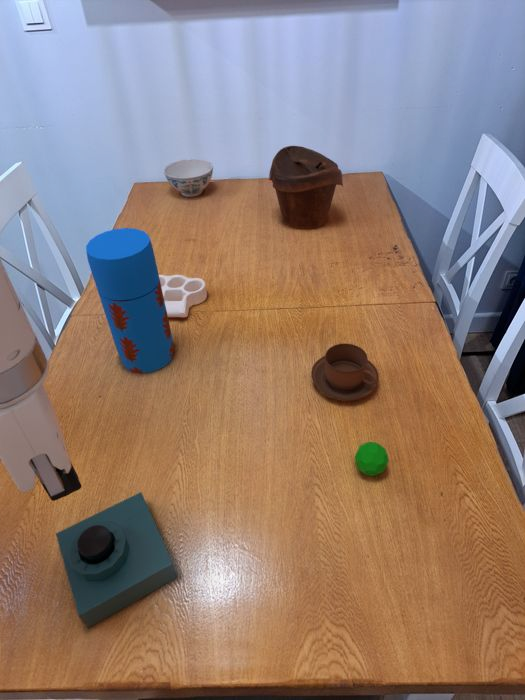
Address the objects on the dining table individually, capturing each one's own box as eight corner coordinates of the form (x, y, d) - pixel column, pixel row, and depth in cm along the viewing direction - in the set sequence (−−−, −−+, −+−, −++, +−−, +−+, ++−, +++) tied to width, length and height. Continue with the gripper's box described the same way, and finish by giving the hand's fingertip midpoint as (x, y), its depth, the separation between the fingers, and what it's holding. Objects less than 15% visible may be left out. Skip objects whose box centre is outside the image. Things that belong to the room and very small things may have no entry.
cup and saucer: (382, 367, 92) (386, 342, 88) (370, 413, 84) (374, 388, 79) (320, 354, 95) (321, 329, 91) (303, 397, 87) (303, 372, 83)
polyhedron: (392, 468, 75) (397, 449, 72) (373, 487, 73) (376, 469, 70) (366, 449, 78) (369, 430, 75) (346, 467, 76) (349, 448, 72)
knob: (86, 569, 60) (81, 562, 58) (78, 542, 62) (73, 535, 61) (118, 553, 61) (114, 545, 60) (108, 527, 64) (104, 519, 62)
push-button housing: (88, 628, 60) (73, 609, 56) (65, 547, 68) (50, 525, 64) (178, 577, 64) (170, 555, 60) (146, 506, 72) (138, 483, 68)
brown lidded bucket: (334, 238, 129) (338, 171, 117) (262, 230, 134) (259, 165, 122) (346, 209, 141) (351, 145, 129) (280, 202, 146) (279, 140, 135)
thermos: (111, 369, 95) (72, 256, 78) (134, 334, 102) (103, 225, 86) (163, 377, 92) (134, 263, 76) (183, 340, 100) (161, 230, 84)
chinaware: (207, 204, 148) (203, 179, 143) (160, 201, 151) (156, 176, 146) (221, 183, 159) (219, 160, 154) (178, 181, 162) (174, 158, 157)
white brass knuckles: (119, 321, 106) (135, 283, 117) (201, 321, 105) (210, 282, 116) (115, 309, 104) (132, 271, 115) (199, 308, 103) (208, 270, 113)
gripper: (-59, 334, 44) (18, 456, 57) (-45, 447, 35) (44, 565, 47) (26, 307, 47) (82, 429, 59) (62, 404, 37) (120, 527, 49)
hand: (65, 489), depth 53 cm, fingers closed
